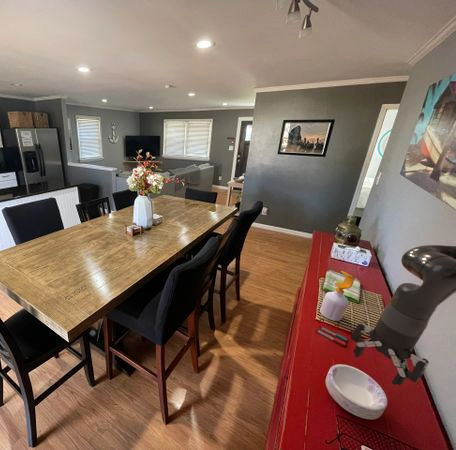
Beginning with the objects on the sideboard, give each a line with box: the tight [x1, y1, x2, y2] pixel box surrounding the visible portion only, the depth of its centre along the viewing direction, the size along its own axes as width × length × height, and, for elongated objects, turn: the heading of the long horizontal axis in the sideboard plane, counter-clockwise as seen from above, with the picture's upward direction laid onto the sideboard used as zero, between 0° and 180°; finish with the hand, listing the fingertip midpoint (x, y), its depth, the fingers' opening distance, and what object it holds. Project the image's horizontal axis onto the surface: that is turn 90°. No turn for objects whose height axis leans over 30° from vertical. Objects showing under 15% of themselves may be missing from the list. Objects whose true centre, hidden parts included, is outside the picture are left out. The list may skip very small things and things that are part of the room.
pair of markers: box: [317, 329, 346, 347], centre depth 105 cm, size 10×2×1 cm, turn 43°
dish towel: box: [322, 269, 361, 304], centre depth 139 cm, size 17×23×4 cm
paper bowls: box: [325, 363, 388, 420], centre depth 79 cm, size 15×15×8 cm
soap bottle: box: [319, 270, 356, 322], centre depth 114 cm, size 9×9×25 cm
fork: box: [320, 326, 348, 343], centre depth 107 cm, size 9×2×1 cm, turn 43°
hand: (375, 368), depth 65 cm, fingers open, 8 cm apart
